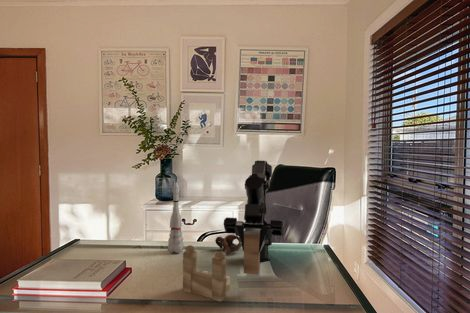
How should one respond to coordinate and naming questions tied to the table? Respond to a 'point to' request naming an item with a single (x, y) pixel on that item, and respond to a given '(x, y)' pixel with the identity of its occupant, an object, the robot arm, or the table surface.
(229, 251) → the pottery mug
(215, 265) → the wooden block tower
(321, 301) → the table surface
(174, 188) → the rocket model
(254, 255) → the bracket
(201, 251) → the table surface
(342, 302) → the table surface
